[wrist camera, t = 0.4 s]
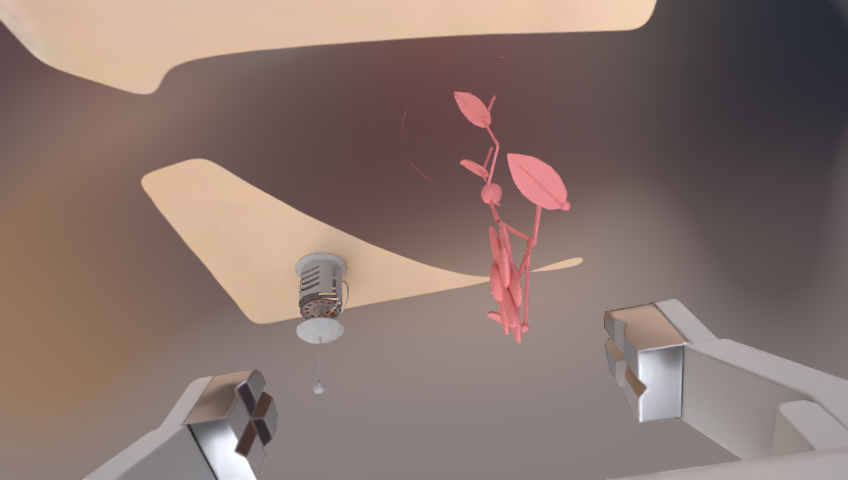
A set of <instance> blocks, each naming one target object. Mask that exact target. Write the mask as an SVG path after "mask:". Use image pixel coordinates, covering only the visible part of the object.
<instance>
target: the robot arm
mask: <svg viewBox="0 0 848 480" xmlns="http://www.w3.org/2000/svg"><path fill="white" fill-rule="evenodd" d="M604 328H605V329H606V331H607V332H608V334H609V336H610V337H609V339H608V340H607V342H606V343H605V348H606V357H607V361H608V366H609V369H610V371H611V374H612V376H613V378H614V380H615V382H616V384H617V385H618V386H620V387H622V388H624V389H625V393H626V401H627V403H628V404H629V406H630V408H631V410H632V411H633V413H634V415H635V416H636V418H637V420H638V421H639V423H644V422H652V421H661V420H669V419H677V418H682V420H683V421H685V422H686V423H688V424H689V425H691V426H692V427H694V428H695V429H697V430H698V431H700V432H701V433H703V434H704V435H706V436H708V437H709V438H711V439H712V440H714V441H715V442H717V443H718V444H720V445H721V446H723V447H724V448H726V449H728V450H729V451H730V452H732V453H733V454H735V455H737V456H738V457H740V458H741V459H743V461H736V462H729V463H721V464H715V465H707V466H700V467H694V468H686V469H679V470H672V471H665V472H658V473H651V474H644V475H637V476H630V477H623V478H615V479H608V480H848V381H847V380H844V379H841V378H838V377H835V376H832V375H829V374H827V373H824V372H821V371H818V370H815V369H812V368H810V367H807V366H804V365H801V364H798V363H795V362H792V361H789V360H787V359H784V358H781V357H778V356H775V355H772V354H769V353H766V352H763V351H761V350H758V349H755V348H752V347H749V346H746V345H744V344H741V343H737V342H735V341H732V340H729V339H721V340H719V339H718V338H717V337H716V336H715V335H714V334H713V333H712V332H711V331H710V330H709V329H708V328H706V327H705V326H704V325H703V324H702V323H701V322H700V321H699V320H698V319H697V318H696V317H695V316H694V315H693V314H692V313H691V312H690V311H689V310H688V309H687V308H686V307H685V306H684V305H682V303H681V302H680V301H678V300H677V299H674V298H672V299H667V300H662V301H658V302H653V303H650V304H645V305H639V306H634V307H628V308H622V309H617V310H611V311H606V312H605V314H604ZM265 385H266V381H265V379H264V377H263V375H262V373H261V372H260V371H258V370H250V371H243V372H237V373H229V374H223V375H217V376H210V377H204V378H199V379H196V380H194V381H192V382H191V384H190V385H189V386H188V388H187V390H186V391H185V392H184V393H183V395H182V396H181V398H180V399H179V401H178V402H177V403H176V405H175V406H174V408H173V409H172V410H171V412H170V413H169V415H168V416H167V417H166V419H165V420H164V422H163V423H162V424H161V426H160V427H159V429H158V430H152V431H150V432H149V433H147V434H146V435H145V436H143V437H142V438H140V439H139V440H137V441H136V442H135V443H133V444H132V445H130V446H129V447H128V448H126V449H125V450H123V451H122V452H121V453H119V454H118V455H116V456H115V457H113V458H112V459H111V460H109V461H108V462H106V463H105V464H104V465H102V466H101V467H99V468H98V469H96V470H95V471H94V472H93V473H91V474H89V475H88V476H87V477H85V478H84V479H82V480H257V478H258V475H259V473H260V470H261V468H262V465H263V463H264V460H265V457H266V452H265V450H264V446H265V445H267V443H269V441H271V440H272V438H273V437H274V434H275V431H276V428H277V416H278V415H277V410H276V405H275V403H274V400H273V398H272V397H271V396H269V395H268V394H266V393H265V392H264V391H263V390H264V387H265Z"/></svg>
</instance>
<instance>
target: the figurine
mask: <svg viewBox="0 0 848 480" xmlns="http://www.w3.org/2000/svg"><path fill="white" fill-rule="evenodd" d="M453 93H454V96H455V99H456V101H457V103H458V106H459V108H460V110H461V111H462V113H463V114H464V115H465V116H466V118H467V119H468V120H470V121H471V122H472V123H474V124H475V125H477V126H480V127H482V128H484V127H486V128H487V130H488V132H489V133H490V135H491V137H492V139H493V140H494V142H495V144H496V146H497V147H496V151H495V155H494V159H493V163H492V167H491V171H490V175H489V173H488V172H487V170H486V166H487V163H488V161H489V158H490V155H491V153H492V150H493V148H492V147H490V148H489V151H488V154H487V156H486V159H485V162H484V164H483V167H482V166H480V165H479V164H477V163H475V162H474V161H472V160H469V159H463V160H462V161H461V162H460V164H462V165H463V166H465V167H466V168H467V169H469V170H470V171H472V172H474V173H475V174H478V175H479V176H482V177H483V178H484V180H485V182H486V184H487V185H485V186H484V187H483V189H482V192H481V197H482V199H483V201H484V202H485V203H488V204H490V205H491V209H492V212H493V216H494V219H495V222H496V223H497V224H498V225H499V226H500V241H499V238H498V235H497V233H496V231H495V229H494V227H493V226H490V227H489V236H490V243H491V249H492V254H493V259H494V262H493V263H492V265H491V270H490V283H491V289H490V290H491V293H492V294H493V295H492V296H493V297H494V298H495V300H497V301H498V303H499V310H500V313H498V312H493V311H490V312H489V313H488V316H489V317H491V318H493V319H494V320H496V321H498V322H500V323H501V324H502V326H503V329H504V332H505V333H506V334H507V335H508V334H509V328H512V330H513V333H514V335H515V338H516V340H517V341H518V342H519V343H521V340H522V332H526V331H527V330H529V325H528V302H529V301H528V300H529V266H530V257H531V250H532V247H533V246H535V245H536V244H537V234H538V228H539V222H540V214H541V209H542V207H544V208H547V209H549V210H553V209H560V208H562V210H564V211H566V210H569V209H570V203H569V202H567V201H566V200H567V193H568V192H567V190H566V188H565V186H564V184H563V182H562V180H561V178H560V176H559V175H558V174H557V173H556V172H555V170H553V168H552V167H551V166H549V165H548V164H546V163H544V162H543V161H541V160H539V159H538V158H536V157H532V156H527V155H521V154H510V153H508V154H507V157H508V164H509V167H510V171H511V174H512V177H513V180H514V182H515V184H516V185H517V186H518V188H519V190H520V191H521V192H522V194H523V195H524V196H526V197H527V198H528V199H529V200H530V201H532V202H533V203H534V204H537V209H536V216H535V222H534V230H533V237H530V238H528V237H526V236H525V235H523V234H522V233H520V232H518V231H516V230H515V229H513V228H512V227H510V226H508V225H506V224H505V223H503V222H501V221H500V219H499V216H498V214H497V211H496V209H495V207H494V204H497V205H498V206H501V204H500V202H499V200H500V199H501V196H502V190H501V188H500V187H499V186H498V185H497V184H494V183H491V178H492V174H493V170H494V166H495V162H496V158H497V154H498V150H499V143H498V142H497V140H496V138H495V137H494V135H493V133H492V132H491V130H490V128H489V125H490V123H491V115H490V110H491V108H492V105H493V103H494V101H495V98H496V96H495V95H493V96H492V98H491V100H490V103H489V105H488V107H487V108H486V106H485V105H484V103H483V102H482V101H481V100H480V99H479V98H478V97H476V96H474V95H473V94H471V93H469V92H465V93H464V92H459V91H455V92H453ZM488 176H489V179H488V181H487V179H486V177H488ZM430 180H431V179H430ZM507 230H508V231H510V232H512V233H514V234H516V235H518V236H519V237H521V238H523V239H525V240H527V242H528V243H527V250H526V253H525V255H524V258H523V261H522V263H521V266H520V268H519V271H518V270H517V268H516V266H515V265H514V264H513V255H512V248H511V244H510V240H509V235H508V232H507ZM525 268H526V270H525V301H524V303H525V304H524V324H523V325H521V321H520V314H519V310H518V307H521V305H522V300H523V290H522V286H521V281H520V280H521V277H522V274H523V271H524V269H525Z"/></svg>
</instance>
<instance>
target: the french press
mask: <svg viewBox="0 0 848 480" xmlns="http://www.w3.org/2000/svg"><path fill="white" fill-rule="evenodd" d="M346 270H347V266H346V264H345V262H344V261H343V260H342V259H340V258H339V257H338V256H335V255H332V254H329V253H315V254H311V255H307V256H305V257H304V258H302V259H300V260H299V262H298V263H297V264H296V273H297V275H298V276H299V278H300V284H302V286H301V285H300V290H302V292H301V291H300V294H299V307H300V308H301V310H300V313H301V315H302V316H303V317H304V318H306V319H308V320H306V321H304V322H302V323H301V324H300V325H299V326H298V327H297V334H298V336H299V337H300V338H301V339H303V340H305V341H308V342H311V343H320V346H319V384H315V385H314V386H313V389H314V392H315V393H318V394H319V393H322V392H324V391H325V385H324V384H320V360H321V343H326V342H330V341H333V340H335V339H337V338H339V337H340V336H341V335H342V334H343V332H344V327H343V325H342V324H341V322H339V321H338V320H336V319H334V318H336V317H337V316H338V315H340V314H341V313H342V312H343V310H344V309H345V306H346V304H347V300H348V296H349V287H348V284H347V283H346V281H344V280H342V277H343V276H344V275H345V274H346ZM301 279H302V281H301ZM342 282H345V284H346V286H347V299H346V303H345V305H344V307H343V309H342V311H341V306H342ZM332 287H336V290H332ZM323 292H329V293H333V292H336V295H318V293H323ZM338 297H339V298H338ZM318 298H338V300H329V299H318ZM301 299H302V300H301ZM340 301H341V304H340V305H338V303H339V302H340Z"/></svg>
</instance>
